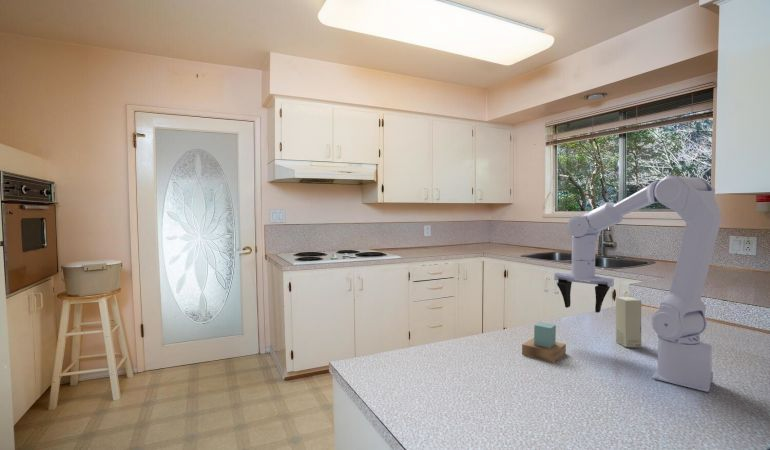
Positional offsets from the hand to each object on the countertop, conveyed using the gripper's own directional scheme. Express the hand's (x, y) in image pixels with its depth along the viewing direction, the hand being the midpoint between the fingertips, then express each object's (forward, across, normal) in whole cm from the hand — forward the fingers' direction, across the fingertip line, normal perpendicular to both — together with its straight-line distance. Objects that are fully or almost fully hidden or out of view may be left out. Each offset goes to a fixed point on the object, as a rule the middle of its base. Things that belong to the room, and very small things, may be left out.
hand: (582, 309), depth 106 cm
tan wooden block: (+10, +5, +14) cm, 18 cm away
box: (+10, -9, -9) cm, 16 cm away
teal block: (+7, +5, +14) cm, 16 cm away
